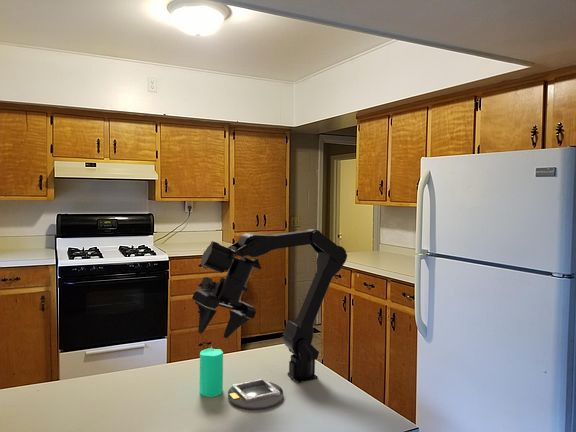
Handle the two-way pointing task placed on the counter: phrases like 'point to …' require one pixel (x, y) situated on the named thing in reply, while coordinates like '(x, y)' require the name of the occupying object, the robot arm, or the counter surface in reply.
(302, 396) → the counter surface
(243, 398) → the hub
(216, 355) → the candle
